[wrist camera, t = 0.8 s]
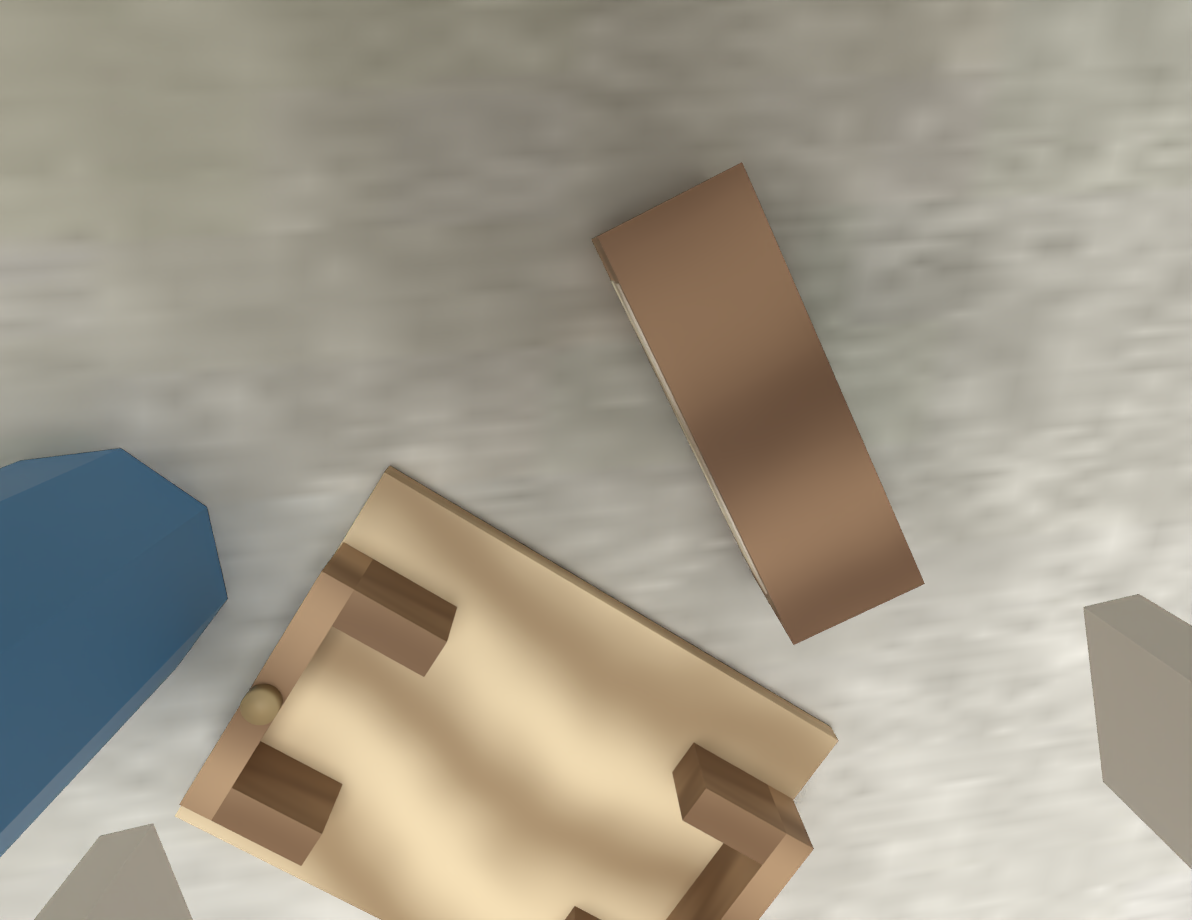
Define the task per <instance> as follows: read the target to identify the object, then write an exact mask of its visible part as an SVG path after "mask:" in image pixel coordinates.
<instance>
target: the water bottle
mask: <svg viewBox="0 0 1192 920" xmlns="http://www.w3.org/2000/svg"><path fill="white" fill-rule="evenodd" d="M227 599H228V598H227V594H226V589H225V585H224V581H223V576H222V572H221V567H220V563H219V559H218V554H217V550H216V546H215V541H214V537H213V532H212V528H211V524H210V519H209V515H208V511H207V507H206V506H204V505H203V504H201V503H200V502H199V501H197V500H196V499H194V498H193V497H191V496H190V495H188V494H187V493H185V492H184V491H182V490H181V489H179V488H178V487H177V486H175V485H174V484H172V483H171V482H169V481H168V480H166V479H165V478H163V477H162V476H160V475H159V474H158V473H156V472H155V471H153V470H152V469H150V468H149V467H147V466H146V465H144V464H143V463H141V462H140V461H139V460H137V459H136V458H134V457H133V456H131V455H130V454H128V453H127V452H125V451H124V450H122V449H121V448H119V449H111V450H103V451H94V452H86V453H78V454H70V455H62V456H54V457H46V458H38V459H30V460H21V461H18V462H16V463H13V464H10V465H8V466H5V467H2V468H0V857H1V856H2V855H3V854H4V853H5V852H6V851H7V849H8V848H9V847H10V846H11V845H12V844H13V843H14V842H15V841H16V840H17V839H18V838H19V837H20V835H21V834H22V833H23V832H24V831H25V830H26V829H27V828H28V827H29V826H30V825H31V824H32V823H33V822H34V820H35V819H36V818H37V817H38V816H39V815H40V814H41V813H42V812H43V811H44V810H45V809H46V808H47V806H48V805H49V804H50V803H51V802H52V801H53V800H54V799H55V798H56V797H57V796H58V795H59V794H60V792H61V791H62V790H63V789H64V788H65V787H66V786H67V785H68V784H69V783H70V782H71V781H72V780H73V778H74V777H75V776H76V775H77V774H78V773H79V772H80V771H81V770H82V769H83V768H84V767H85V766H86V765H87V763H88V762H89V761H90V760H91V759H92V758H93V757H94V756H95V755H96V754H97V753H98V752H99V751H100V749H101V748H102V747H103V746H104V745H105V744H106V743H107V742H108V741H109V740H110V739H111V738H112V737H113V735H114V734H115V733H116V732H117V731H118V730H119V729H120V728H121V727H122V726H123V725H124V724H125V723H126V722H127V720H128V719H129V718H130V717H131V716H132V715H133V714H134V713H135V712H136V711H137V710H138V709H139V708H140V706H141V705H142V704H143V703H144V702H145V701H146V700H147V699H148V698H149V697H150V696H151V695H152V694H153V692H154V691H155V690H156V689H157V688H158V687H159V686H160V685H161V684H162V683H163V682H164V681H165V680H166V678H167V677H168V676H169V675H170V674H171V673H172V672H173V671H174V670H175V669H176V667H177V666H178V665H179V663H180V662H181V661H182V659H183V658H184V657H185V655H186V654H187V653H188V651H189V650H190V649H191V647H192V646H193V645H194V643H195V642H196V641H197V639H198V638H199V636H200V635H201V634H202V632H203V631H204V630H205V628H206V627H207V626H208V624H209V623H210V622H211V620H212V619H213V618H214V616H215V615H216V614H217V612H218V611H219V610H220V608H221V607H222V606H223V604H224V603H225V601H226V600H227Z"/></svg>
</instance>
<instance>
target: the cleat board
mask: <svg viewBox="0 0 1192 920" xmlns="http://www.w3.org/2000/svg"><path fill="white" fill-rule="evenodd" d="M837 742H838V739H837V737H836V735H835V734H834V732H833V730H832V728H831V727H830V726H828V725H826V724H825V723H823V722H821V721H820V720H818V719H816V718H815V717H813V716H811V715H810V714H808V713H806V712H804V711H803V710H801V709H799V708H798V707H796V706H794V705H793V704H791V703H789V702H788V701H786V700H784V699H783V698H781V697H779V696H778V695H776V694H774V693H772V692H771V691H769V690H767V689H766V688H764V687H762V686H761V685H759V684H757V683H756V682H754V681H752V680H751V679H749V678H747V677H745V676H744V675H742V674H740V673H739V672H737V671H735V670H734V669H732V668H730V667H729V666H727V665H725V664H724V663H722V662H720V661H718V660H717V659H715V658H713V657H712V656H710V655H708V654H707V653H705V652H703V651H702V650H700V649H698V648H697V647H695V646H693V645H691V644H690V643H688V642H686V641H685V640H683V639H681V638H680V637H678V636H676V635H675V634H673V633H671V632H670V631H668V630H666V629H664V628H663V627H661V626H659V625H658V624H656V623H654V622H653V621H651V620H649V619H648V618H646V617H644V616H643V615H641V614H639V613H637V612H636V611H634V610H632V609H631V608H629V607H627V606H626V605H624V604H622V603H621V602H619V601H617V600H616V599H614V598H612V597H611V596H609V595H607V594H605V593H604V592H602V591H600V590H599V589H597V588H595V587H594V586H592V585H590V584H589V583H587V582H585V581H584V580H582V579H580V578H578V577H577V576H575V575H573V574H572V573H570V572H568V571H567V570H565V569H563V568H562V567H560V566H558V565H557V564H555V563H553V562H551V561H550V560H548V559H546V558H545V557H543V556H541V555H540V554H538V553H536V552H535V551H533V550H531V549H530V548H528V547H526V546H524V545H523V544H521V543H519V542H518V541H516V540H514V539H513V538H511V537H509V536H508V535H506V534H504V533H503V532H501V531H499V530H497V529H496V528H494V527H492V526H491V525H489V524H487V523H486V522H484V521H482V520H481V519H479V518H477V517H476V516H474V515H472V514H470V513H469V512H467V511H465V510H464V509H462V508H460V507H459V506H457V505H455V504H454V503H452V502H450V501H449V500H447V499H445V498H443V497H442V496H440V495H438V494H437V493H435V492H433V491H432V490H430V489H428V488H427V487H425V486H423V485H422V484H420V483H418V482H417V481H415V480H413V479H411V478H410V477H408V476H406V475H405V474H403V473H401V472H400V471H398V470H396V469H395V468H393V467H391V466H389V467H388V468H387V470H386V471H385V472H384V474H383V475H382V477H381V479H380V480H379V482H378V484H377V485H376V487H375V489H374V490H373V492H372V494H371V495H370V497H369V498H368V500H367V502H366V503H365V505H364V507H363V508H362V510H361V512H360V513H359V515H358V516H357V518H356V520H355V521H354V523H353V525H352V526H351V528H350V530H349V531H348V533H347V535H346V536H345V538H344V539H343V541H342V543H341V544H340V546H339V548H338V549H337V551H336V553H335V554H334V555H333V557H332V558H331V559H330V561H329V562H328V563H327V565H326V566H325V567H324V569H323V570H322V571H321V573H320V575H319V576H318V578H317V580H316V581H315V583H314V585H313V586H312V588H311V589H310V591H309V593H308V594H307V596H306V598H305V599H304V601H303V603H302V604H301V606H300V607H299V609H298V611H297V612H296V614H295V616H294V617H293V619H292V621H291V622H290V624H289V626H288V627H287V629H286V630H285V632H284V634H283V635H282V637H281V639H280V640H279V642H278V644H277V645H276V647H275V649H274V650H273V652H272V653H271V655H270V657H269V658H268V660H267V662H266V663H265V665H264V667H263V668H262V670H261V672H260V673H259V675H258V676H257V678H256V680H255V681H254V683H253V685H252V686H251V688H250V690H249V691H248V693H247V694H246V695H245V697H244V698H243V700H242V701H241V704H240V706H239V708H238V709H237V711H236V713H235V714H234V716H233V717H232V719H231V721H230V722H229V724H228V726H227V727H226V729H225V731H224V732H223V734H222V736H221V737H220V739H219V740H218V742H217V744H216V745H215V747H214V749H213V750H212V752H211V754H210V755H209V757H208V759H207V760H206V762H205V763H204V765H203V767H202V768H201V770H200V772H199V773H198V775H197V777H196V778H195V780H194V782H193V783H192V785H191V786H190V788H189V790H188V791H187V793H186V795H185V796H184V798H183V800H182V801H181V803H180V805H181V807H180V808H179V810H178V812H177V813H176V815H175V817H177V818H179V819H181V820H183V821H185V822H187V823H189V824H191V825H193V826H195V827H197V828H199V829H201V830H203V831H205V832H207V833H209V834H211V835H213V836H215V837H217V838H219V839H221V840H223V841H225V842H227V843H229V844H231V845H233V846H235V847H237V848H239V849H241V850H243V851H245V852H247V853H249V854H251V855H253V856H255V857H257V858H259V859H261V860H263V861H265V862H267V863H269V864H271V865H273V866H275V867H277V868H279V869H281V870H283V871H285V872H287V873H289V874H291V875H293V876H295V877H297V878H299V879H301V880H303V881H305V882H307V883H309V884H311V885H313V886H315V887H317V888H319V889H321V890H323V891H325V892H327V893H329V894H331V895H333V896H335V897H337V898H339V899H341V900H343V901H345V902H347V903H349V904H351V905H353V906H355V907H357V908H359V909H361V910H363V911H365V912H367V913H369V914H371V915H373V916H375V917H377V918H379V919H381V920H759V918H760V917H761V916H762V915H763V913H764V912H765V911H766V910H767V908H768V907H769V906H770V904H771V903H772V902H773V901H774V899H775V898H776V897H777V895H778V894H779V893H780V892H781V890H782V889H783V888H784V886H785V885H786V884H787V883H788V881H789V880H790V879H791V877H792V876H793V875H794V874H795V872H796V871H797V870H798V868H799V867H800V866H801V865H802V863H803V862H804V861H805V859H806V858H807V857H808V856H809V854H810V853H811V852H812V850H813V849H814V848H813V846H812V844H811V841H810V839H809V837H808V834H807V832H806V830H805V827H804V825H803V822H802V820H801V818H800V815H799V813H798V811H797V808H796V806H795V804H794V801H793V799H794V798H795V797H796V796H797V794H798V793H799V792H800V790H801V789H802V788H803V786H804V785H805V784H806V782H807V781H808V780H809V779H810V777H811V776H812V775H813V773H814V772H815V771H816V769H817V768H818V767H819V765H820V764H821V763H822V761H823V760H824V759H825V758H826V756H827V755H828V754H829V752H830V751H831V750H832V748H833V747H834V746H835V744H836V743H837Z"/></svg>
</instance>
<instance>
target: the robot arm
mask: <svg viewBox="0 0 1192 920" xmlns="http://www.w3.org/2000/svg"><path fill="white" fill-rule="evenodd" d="M1083 608H1084V617H1085V626H1086V635H1087V644H1088V652H1089V661H1090V670H1091V679H1092V688H1093V697H1094V706H1095V715H1096V724H1097V733H1098V742H1099V751H1100V760H1101V769H1102V778H1103V782H1104V783H1105V784H1106V785H1107V786H1108V787H1109V788H1110V789H1111V790H1112V791H1113V792H1114V793H1115V794H1116V795H1117V796H1118V797H1119V798H1120V799H1121V800H1122V801H1123V802H1124V803H1125V804H1126V805H1127V806H1128V807H1129V808H1130V809H1131V810H1132V811H1133V812H1134V813H1135V814H1136V815H1137V816H1138V817H1139V818H1140V819H1141V820H1142V821H1143V822H1144V823H1145V824H1146V825H1147V826H1148V827H1150V828H1151V829H1152V830H1153V831H1154V832H1155V833H1156V834H1157V835H1158V836H1159V837H1160V838H1161V839H1162V840H1163V841H1164V842H1165V843H1166V844H1167V845H1168V846H1169V847H1170V848H1171V849H1172V850H1173V851H1174V852H1175V853H1176V854H1177V855H1178V856H1179V857H1180V858H1181V859H1182V860H1183V861H1184V862H1185V863H1186V864H1187V865H1188V866H1189V867H1190V868H1191V869H1192V626H1191V625H1190V624H1188V623H1186V622H1185V621H1183V620H1181V619H1180V618H1178V617H1176V616H1175V615H1173V614H1171V613H1170V612H1168V611H1166V610H1165V609H1163V608H1161V607H1160V606H1158V605H1156V604H1155V603H1153V602H1151V601H1150V600H1148V599H1146V598H1145V597H1143V596H1141V595H1140V594H1137V595H1133V596H1128V597H1124V598H1120V599H1115V600H1111V601H1107V602H1103V603H1098V604H1094V605H1090V606H1085V607H1083ZM34 920H193V919H192V917H191V915H190V912H189V910H188V907H187V905H186V902H185V900H184V897H183V895H182V893H181V890H180V888H179V885H178V883H177V880H176V878H175V875H174V873H173V871H172V868H171V866H170V863H169V861H168V858H167V856H166V853H165V851H164V849H163V846H162V844H161V841H160V839H159V836H158V834H157V832H156V829H155V827H154V824H149V825H144V826H140V827H136V828H131V829H127V830H123V831H119V832H114V833H110V834H106V835H101V836H100V837H99V838H98V839H97V840H96V842H95V843H94V844H93V845H92V847H91V848H90V849H89V851H88V852H87V853H86V854H85V856H84V857H83V858H82V859H81V861H80V862H79V863H78V865H77V866H76V867H75V868H74V870H73V871H72V872H71V873H70V875H69V876H68V877H67V878H66V880H65V881H64V882H63V884H62V885H61V886H60V887H59V889H58V890H57V891H56V892H55V894H54V895H53V896H52V898H51V899H50V900H49V901H48V903H47V904H46V905H45V906H44V908H43V909H42V910H41V912H40V913H39V914H38V915H37V917H36V918H35V919H34Z"/></svg>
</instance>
